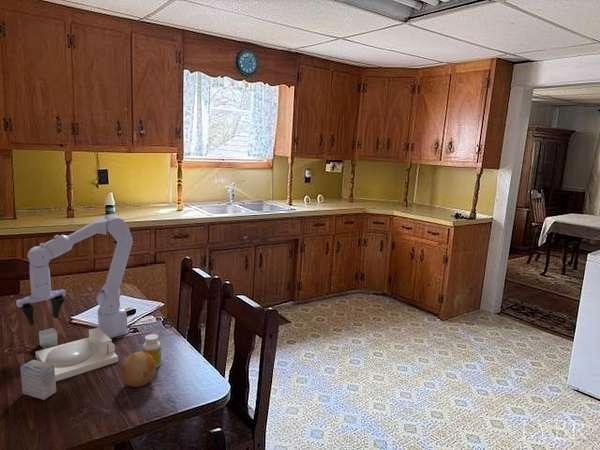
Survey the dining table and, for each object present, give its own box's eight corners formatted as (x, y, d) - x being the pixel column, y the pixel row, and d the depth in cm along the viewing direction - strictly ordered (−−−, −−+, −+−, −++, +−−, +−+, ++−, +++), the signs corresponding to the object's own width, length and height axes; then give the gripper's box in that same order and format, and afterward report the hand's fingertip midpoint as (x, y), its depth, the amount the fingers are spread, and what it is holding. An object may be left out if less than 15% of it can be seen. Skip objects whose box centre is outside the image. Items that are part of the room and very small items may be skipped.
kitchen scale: (97, 340, 155) (96, 323, 154) (119, 361, 142) (118, 343, 140) (35, 357, 141) (34, 339, 140) (53, 382, 128) (52, 362, 127)
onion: (136, 397, 123) (135, 365, 121) (114, 385, 128) (112, 354, 126) (163, 382, 131) (162, 351, 129) (141, 371, 136) (140, 342, 134)
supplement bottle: (155, 370, 137) (154, 341, 136) (139, 367, 138) (139, 339, 137) (163, 361, 143) (163, 334, 141) (149, 359, 144) (148, 332, 142)
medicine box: (57, 392, 123) (55, 364, 122) (43, 401, 119) (41, 372, 118) (36, 386, 126) (33, 358, 124) (21, 394, 122) (19, 366, 120)
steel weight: (53, 341, 153) (53, 327, 152) (57, 345, 150) (56, 332, 149) (39, 344, 150) (38, 331, 149) (43, 349, 147) (42, 335, 146)
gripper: (57, 275, 152) (60, 311, 155) (11, 285, 141) (14, 324, 143) (67, 279, 148) (70, 317, 151) (20, 290, 136) (23, 330, 139)
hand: (43, 321), depth 147 cm, fingers open, 7 cm apart
